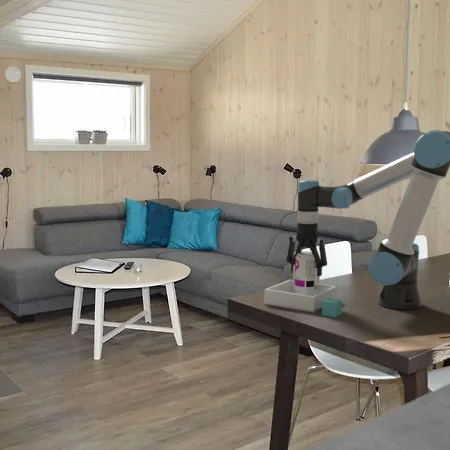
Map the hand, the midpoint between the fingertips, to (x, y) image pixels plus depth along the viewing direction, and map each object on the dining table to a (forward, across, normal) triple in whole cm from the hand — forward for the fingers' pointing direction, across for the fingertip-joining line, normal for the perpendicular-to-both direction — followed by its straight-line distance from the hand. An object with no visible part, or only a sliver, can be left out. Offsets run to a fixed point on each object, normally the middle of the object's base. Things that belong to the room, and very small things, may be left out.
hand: (306, 283), depth 235 cm
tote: (+7, 0, +4) cm, 8 cm away
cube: (+7, -16, +12) cm, 21 cm away
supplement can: (+4, 0, 0) cm, 4 cm away
